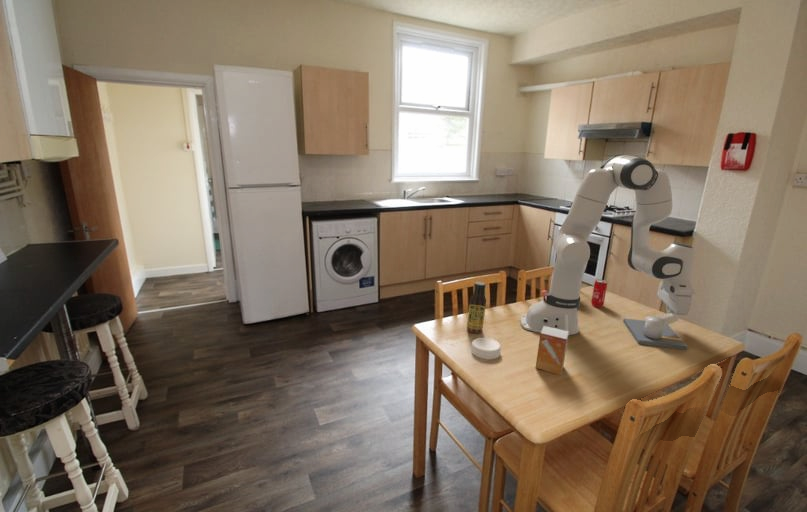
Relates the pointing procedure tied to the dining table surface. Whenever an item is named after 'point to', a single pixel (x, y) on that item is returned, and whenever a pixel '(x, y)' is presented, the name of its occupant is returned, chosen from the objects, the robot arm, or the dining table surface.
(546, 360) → the small box
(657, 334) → the white measuring scoop
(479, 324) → the sauce bottle
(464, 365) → the dining table surface
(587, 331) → the dining table surface
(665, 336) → the plate
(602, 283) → the beverage can
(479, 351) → the white bowl
